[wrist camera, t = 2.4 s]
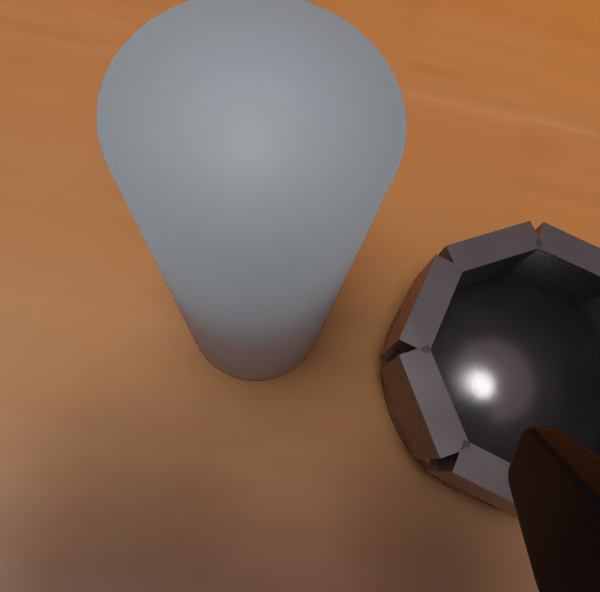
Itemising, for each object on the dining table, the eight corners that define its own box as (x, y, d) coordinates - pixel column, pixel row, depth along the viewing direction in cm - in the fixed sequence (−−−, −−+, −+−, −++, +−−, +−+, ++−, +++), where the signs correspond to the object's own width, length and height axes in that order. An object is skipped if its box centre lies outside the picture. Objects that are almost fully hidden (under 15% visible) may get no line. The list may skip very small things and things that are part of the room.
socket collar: (658, 455, 19) (743, 453, 16) (439, 544, 17) (481, 563, 14) (548, 240, 21) (601, 199, 18) (347, 302, 20) (365, 270, 17)
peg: (337, 357, 19) (453, 203, 8) (211, 398, 18) (138, 293, 7) (296, 243, 20) (345, -31, 9) (177, 277, 20) (66, 21, 8)
